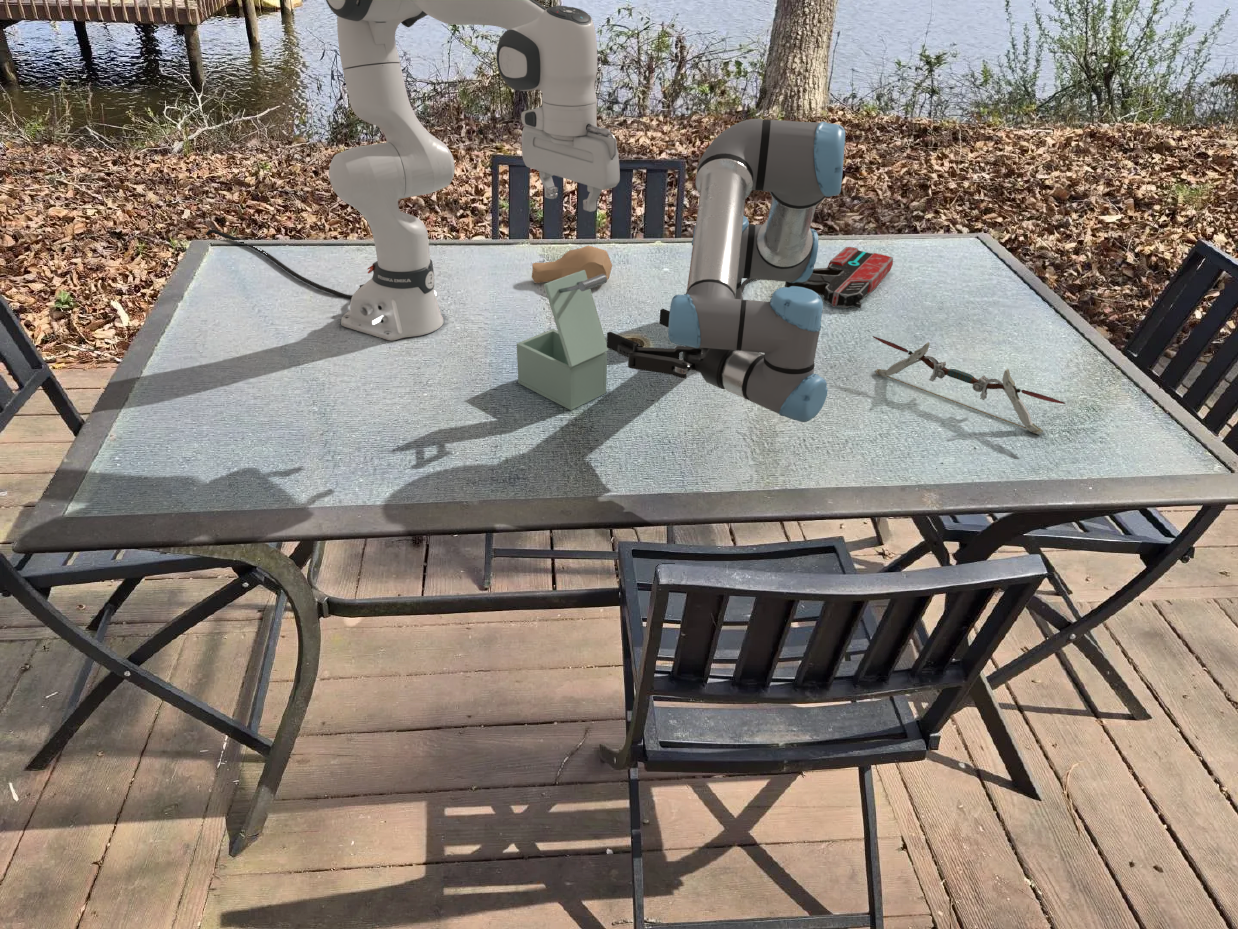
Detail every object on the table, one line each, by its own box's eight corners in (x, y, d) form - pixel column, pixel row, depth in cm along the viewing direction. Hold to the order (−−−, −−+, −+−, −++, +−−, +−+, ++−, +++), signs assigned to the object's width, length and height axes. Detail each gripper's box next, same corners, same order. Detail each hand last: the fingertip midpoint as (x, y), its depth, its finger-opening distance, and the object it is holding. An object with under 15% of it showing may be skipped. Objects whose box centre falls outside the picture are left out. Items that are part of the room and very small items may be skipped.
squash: (613, 292, 213) (609, 260, 207) (532, 299, 215) (526, 267, 209) (614, 269, 221) (610, 237, 215) (536, 276, 223) (529, 244, 217)
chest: (518, 383, 174) (516, 343, 169) (553, 367, 180) (553, 328, 175) (570, 410, 166) (570, 369, 161) (606, 393, 171) (607, 352, 167)
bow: (1055, 436, 162) (1072, 389, 156) (1051, 440, 160) (1068, 392, 155) (868, 367, 183) (877, 323, 177) (863, 370, 182) (872, 326, 176)
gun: (782, 277, 212) (859, 296, 204) (826, 238, 234) (898, 255, 226) (779, 294, 214) (856, 314, 207) (823, 255, 236) (894, 271, 229)
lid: (543, 284, 156) (572, 277, 150) (581, 270, 162) (611, 263, 156) (569, 367, 161) (598, 363, 155) (605, 350, 167) (635, 347, 161)
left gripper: (629, 127, 139) (627, 214, 147) (541, 106, 150) (543, 187, 158) (602, 134, 135) (600, 222, 143) (514, 111, 147) (517, 194, 154)
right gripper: (682, 416, 134) (584, 370, 146) (775, 364, 149) (680, 326, 161) (686, 373, 130) (584, 329, 142) (781, 323, 145) (682, 287, 157)
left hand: (570, 203), depth 151 cm, fingers open, 8 cm apart
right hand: (635, 327), depth 152 cm, fingers open, 13 cm apart
